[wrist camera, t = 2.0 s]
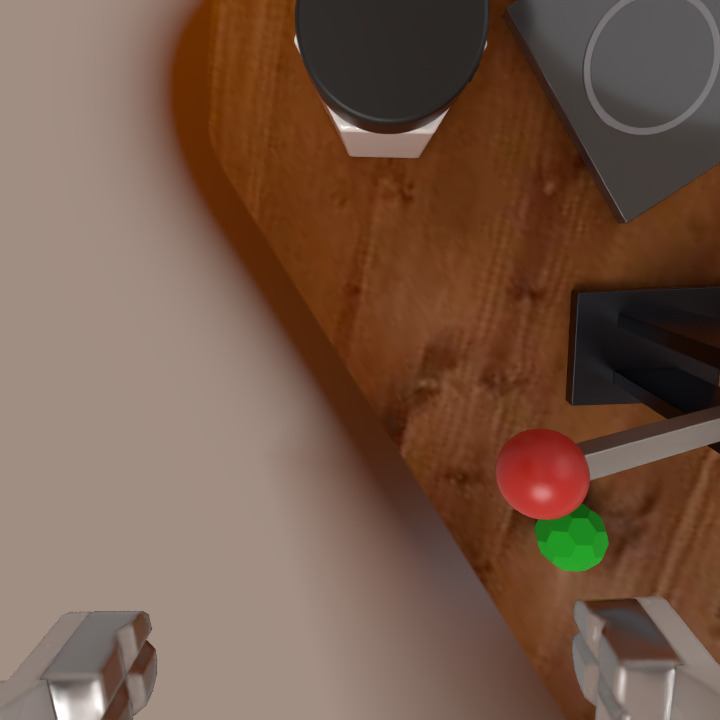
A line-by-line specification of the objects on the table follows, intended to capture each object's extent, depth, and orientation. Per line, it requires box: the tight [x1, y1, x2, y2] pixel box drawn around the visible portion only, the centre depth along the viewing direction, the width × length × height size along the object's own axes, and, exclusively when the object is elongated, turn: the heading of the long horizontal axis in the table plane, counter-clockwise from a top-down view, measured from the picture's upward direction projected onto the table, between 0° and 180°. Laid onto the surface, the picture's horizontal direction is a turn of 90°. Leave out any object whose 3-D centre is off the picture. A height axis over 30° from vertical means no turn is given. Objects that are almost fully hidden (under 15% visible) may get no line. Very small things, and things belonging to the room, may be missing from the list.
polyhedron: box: [534, 503, 609, 572], centre depth 38 cm, size 5×5×5 cm
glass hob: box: [503, 0, 720, 224], centre depth 31 cm, size 15×11×1 cm
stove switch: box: [566, 284, 720, 454], centre depth 29 cm, size 10×8×15 cm
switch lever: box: [496, 406, 720, 520], centre depth 21 cm, size 17×3×3 cm, turn 91°
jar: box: [294, 0, 490, 158], centre depth 27 cm, size 9×8×12 cm
